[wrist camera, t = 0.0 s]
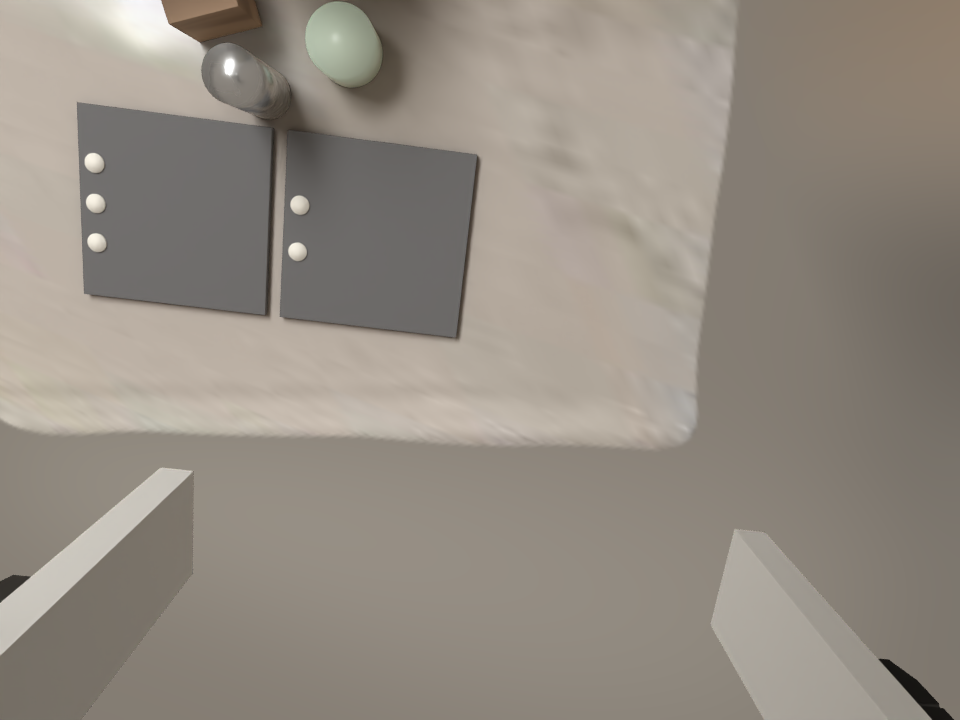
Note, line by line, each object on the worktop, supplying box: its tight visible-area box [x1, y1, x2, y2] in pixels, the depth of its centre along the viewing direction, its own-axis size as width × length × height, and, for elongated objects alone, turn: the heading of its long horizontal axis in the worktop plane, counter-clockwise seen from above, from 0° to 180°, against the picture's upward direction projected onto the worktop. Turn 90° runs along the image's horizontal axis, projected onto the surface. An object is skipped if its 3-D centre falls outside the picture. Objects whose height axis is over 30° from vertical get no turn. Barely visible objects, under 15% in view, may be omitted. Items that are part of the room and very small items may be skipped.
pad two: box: [280, 130, 477, 338], centre depth 40 cm, size 12×12×1 cm
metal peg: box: [201, 43, 291, 119], centre depth 35 cm, size 3×3×6 cm
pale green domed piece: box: [305, 1, 383, 88], centre depth 36 cm, size 4×4×3 cm
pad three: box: [77, 102, 274, 315], centre depth 40 cm, size 12×12×1 cm
